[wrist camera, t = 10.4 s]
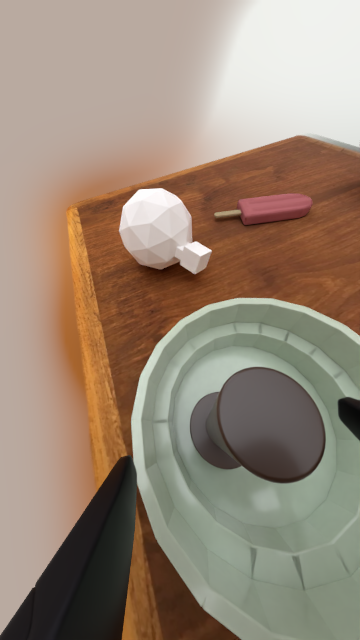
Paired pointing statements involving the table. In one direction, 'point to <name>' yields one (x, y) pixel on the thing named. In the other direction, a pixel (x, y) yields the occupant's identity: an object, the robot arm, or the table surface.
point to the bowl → (244, 487)
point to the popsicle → (270, 208)
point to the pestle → (260, 426)
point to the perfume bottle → (161, 231)
